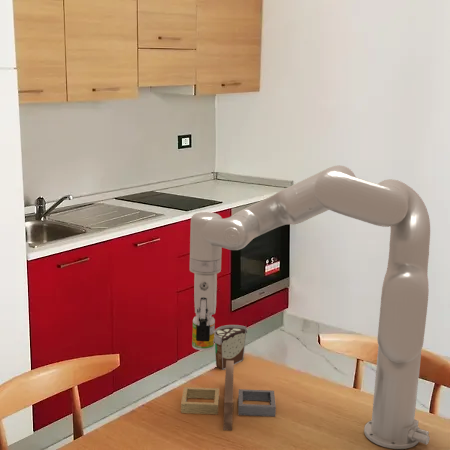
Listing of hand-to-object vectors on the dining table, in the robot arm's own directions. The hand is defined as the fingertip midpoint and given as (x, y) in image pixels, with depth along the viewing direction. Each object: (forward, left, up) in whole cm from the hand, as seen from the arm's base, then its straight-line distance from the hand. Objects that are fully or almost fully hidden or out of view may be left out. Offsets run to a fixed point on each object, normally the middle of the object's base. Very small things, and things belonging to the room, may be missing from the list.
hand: (203, 335), depth 173 cm
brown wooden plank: (-5, -4, -19) cm, 20 cm away
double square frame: (-5, -4, -19) cm, 20 cm away
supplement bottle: (0, 0, -3) cm, 3 cm away
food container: (+13, -24, -19) cm, 33 cm away
